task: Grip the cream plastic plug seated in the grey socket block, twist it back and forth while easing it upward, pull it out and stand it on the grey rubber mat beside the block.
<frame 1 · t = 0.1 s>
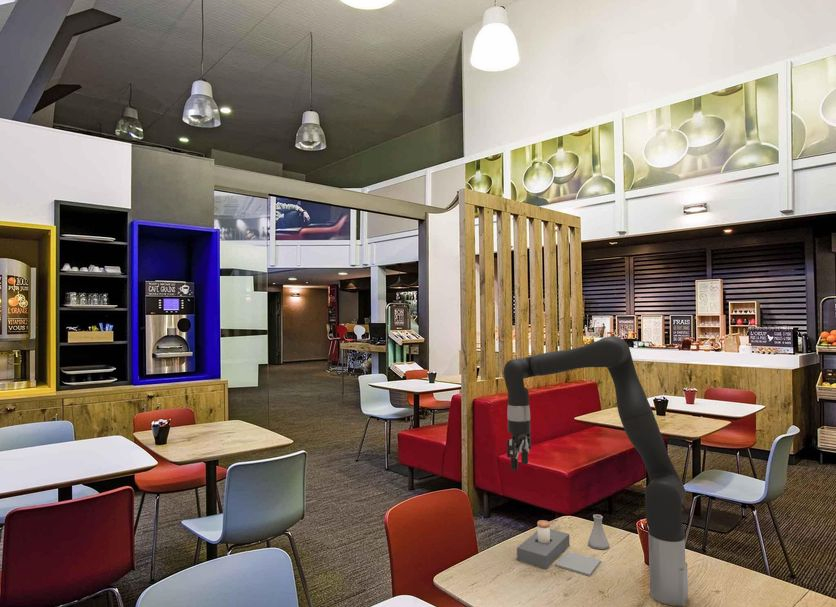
hand: (519, 466, 170), 29 cm above the table, tool pointing down, fingers open, 8 cm apart
mat: (578, 563, 162), on the table
flask: (598, 546, 175), on the table
plug: (543, 537, 170), in the grey socket block
grey socket block: (544, 552, 170), on the table
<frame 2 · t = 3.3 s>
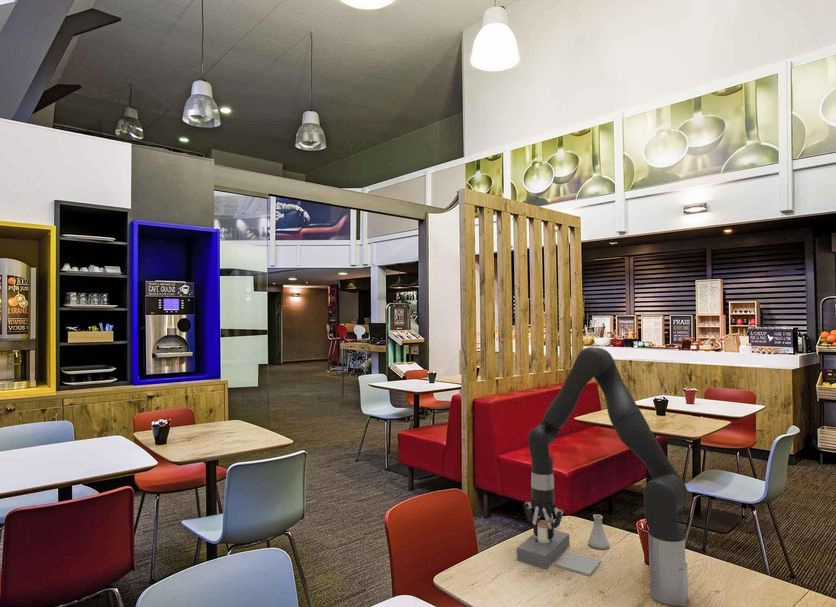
hand: (543, 536, 170), 5 cm above the table, tool pointing down, fingers closed on plug, 4 cm apart
plug: (543, 537, 170), in the grey socket block, touching gripper
everything else where it was.
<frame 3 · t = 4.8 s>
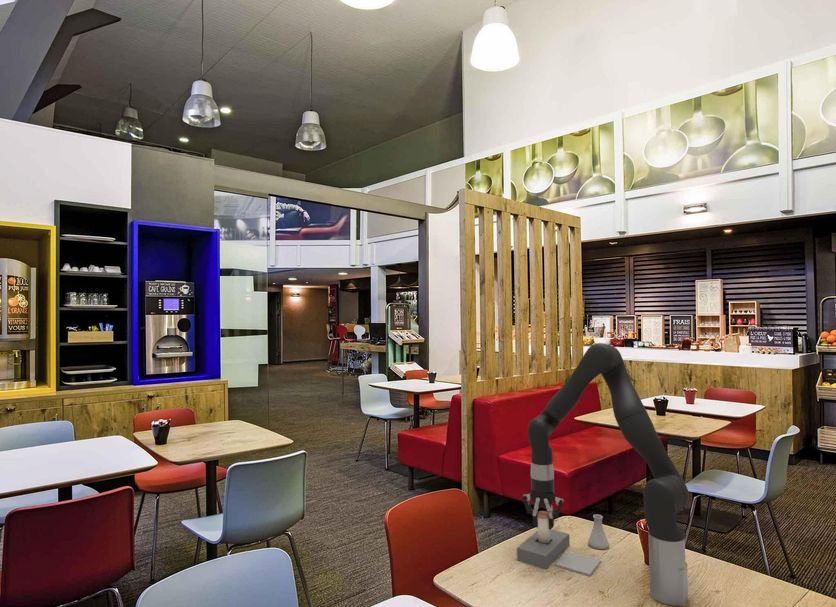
hand: (543, 527, 170), 8 cm above the table, tool pointing down, fingers closed on plug, 4 cm apart
plug: (543, 528, 170), point 8 cm above the table, touching gripper
everything else where it was.
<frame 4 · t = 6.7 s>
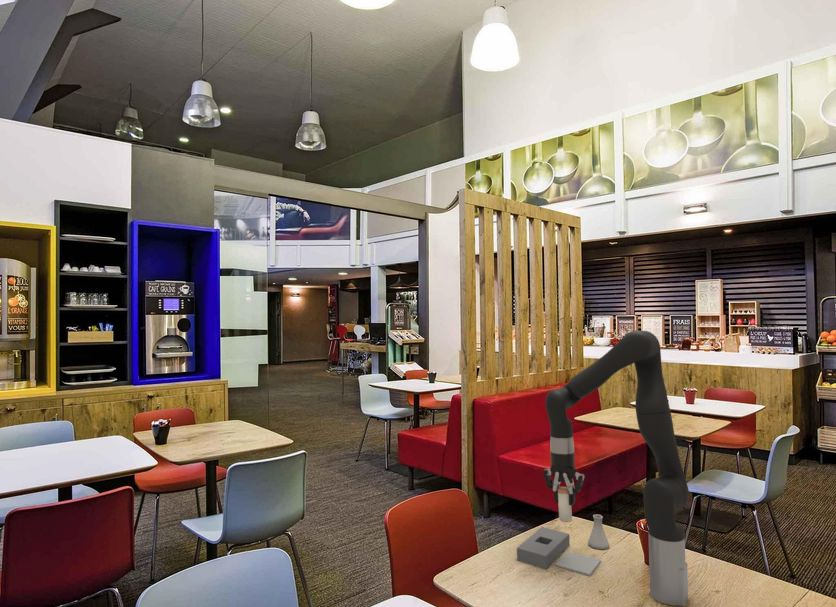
hand: (564, 503, 165), 18 cm above the table, tool pointing down, fingers closed on plug, 4 cm apart
plug: (564, 504, 165), point 18 cm above the table, touching gripper
everything else where it was.
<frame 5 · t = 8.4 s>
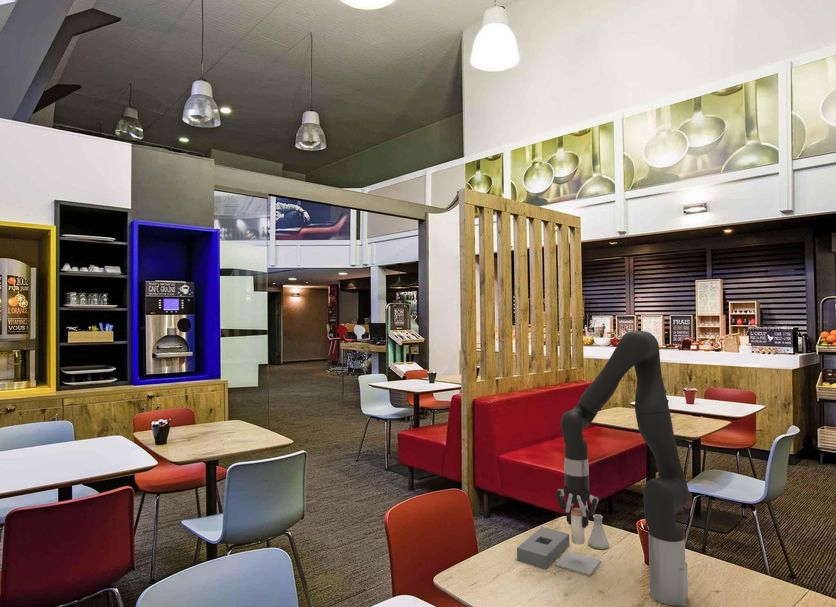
hand: (577, 525, 162), 12 cm above the table, tool pointing down, fingers closed on plug, 4 cm apart
plug: (577, 526, 163), point 12 cm above the table, touching gripper
everything else where it was.
when the fingers open (7 cm above the table, at t = 10.1 s): plug drops 1 cm, resting on mat.
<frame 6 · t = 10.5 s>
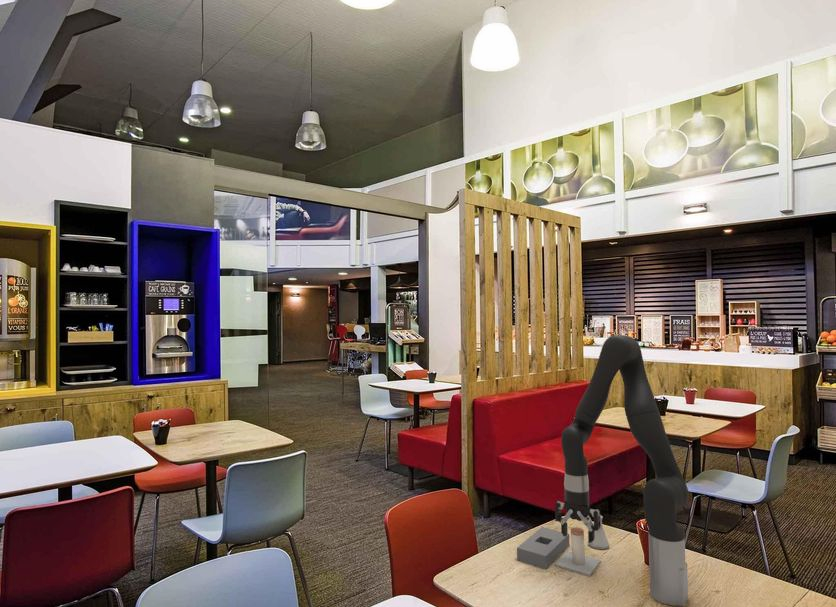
hand: (577, 538, 162), 8 cm above the table, tool pointing down, fingers open, 8 cm apart
plug: (577, 545, 162), on the mat, point 6 cm above the table
everything else where it was.
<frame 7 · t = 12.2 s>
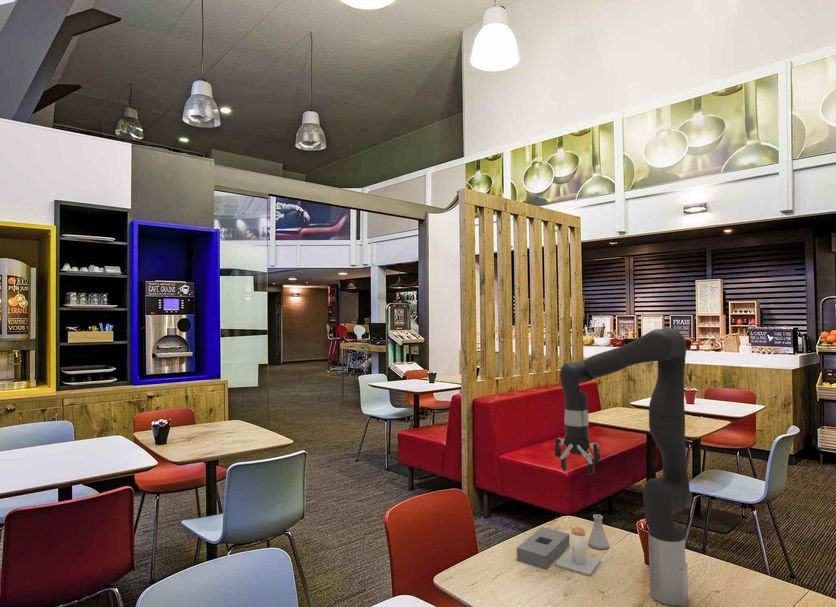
hand: (577, 472, 167), 28 cm above the table, tool pointing down, fingers open, 8 cm apart
nothing on the table moved.
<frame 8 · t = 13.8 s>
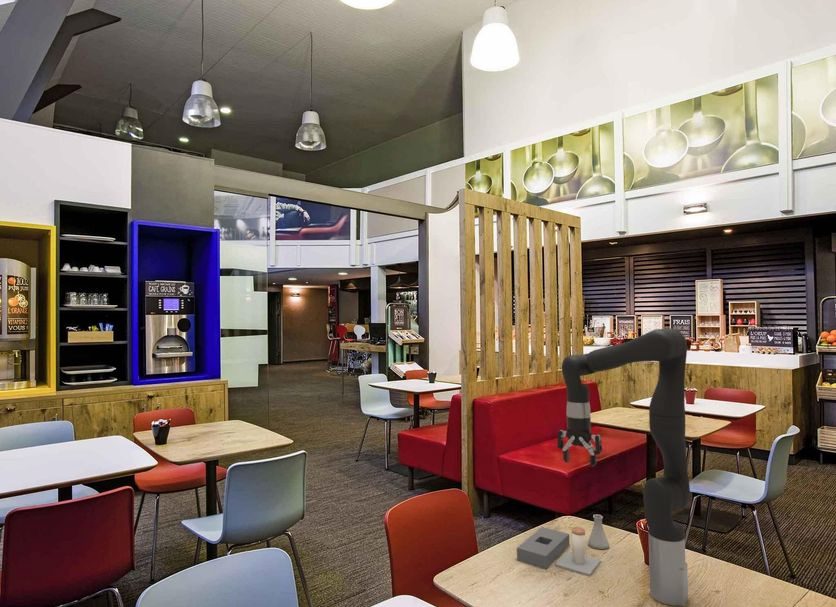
hand: (579, 464, 168), 30 cm above the table, tool pointing down, fingers open, 8 cm apart
nothing on the table moved.
at the end: plug inside the target area on the mat (0.3 cm from its centre), point 5.6 cm above the mat's base; plug tilted 2°; the gripper is holding nothing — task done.
